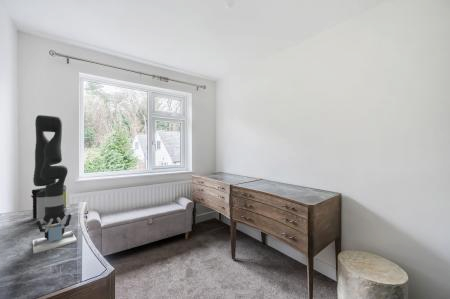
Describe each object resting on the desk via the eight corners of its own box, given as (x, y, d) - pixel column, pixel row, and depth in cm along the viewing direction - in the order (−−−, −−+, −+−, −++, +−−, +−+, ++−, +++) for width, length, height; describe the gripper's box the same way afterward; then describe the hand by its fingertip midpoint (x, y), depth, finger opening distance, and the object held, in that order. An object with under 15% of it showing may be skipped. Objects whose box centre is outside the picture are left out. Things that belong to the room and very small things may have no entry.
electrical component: (42, 219, 132) (42, 190, 132) (30, 218, 134) (30, 189, 134) (67, 211, 149) (67, 185, 149) (57, 210, 151) (57, 185, 151)
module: (47, 237, 100) (47, 224, 100) (60, 234, 104) (60, 221, 104) (48, 242, 95) (48, 228, 95) (61, 238, 99) (61, 225, 99)
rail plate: (32, 242, 99) (32, 237, 99) (71, 232, 111) (71, 228, 111) (33, 253, 88) (33, 248, 88) (76, 241, 100) (76, 236, 100)
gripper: (70, 200, 107) (71, 230, 107) (34, 205, 97) (35, 239, 97) (73, 202, 102) (73, 234, 102) (35, 208, 92) (35, 244, 92)
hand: (54, 236), depth 100 cm, fingers closed on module, 5 cm apart
